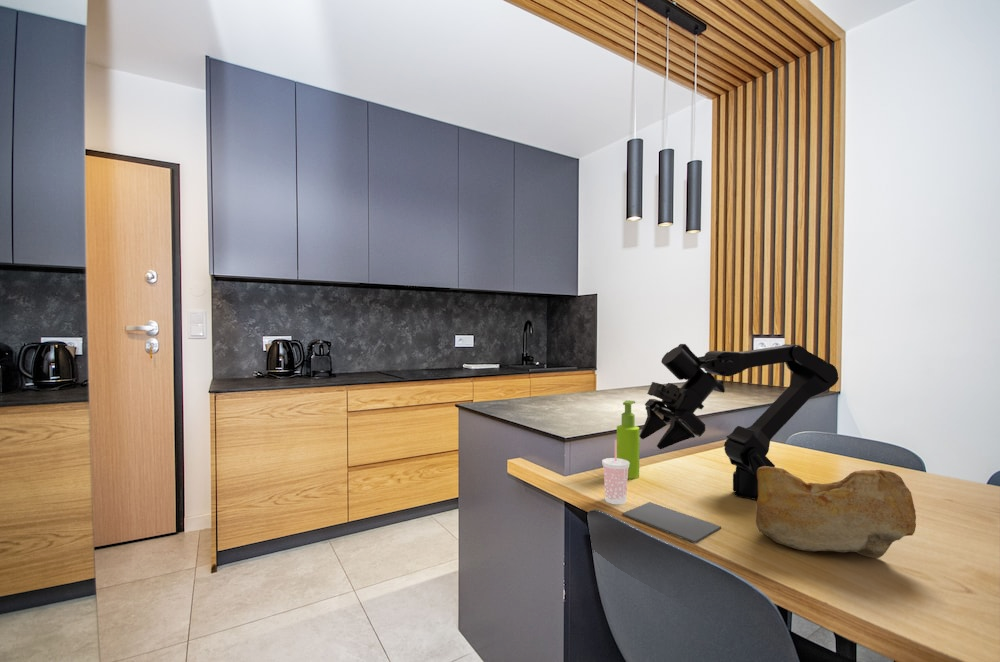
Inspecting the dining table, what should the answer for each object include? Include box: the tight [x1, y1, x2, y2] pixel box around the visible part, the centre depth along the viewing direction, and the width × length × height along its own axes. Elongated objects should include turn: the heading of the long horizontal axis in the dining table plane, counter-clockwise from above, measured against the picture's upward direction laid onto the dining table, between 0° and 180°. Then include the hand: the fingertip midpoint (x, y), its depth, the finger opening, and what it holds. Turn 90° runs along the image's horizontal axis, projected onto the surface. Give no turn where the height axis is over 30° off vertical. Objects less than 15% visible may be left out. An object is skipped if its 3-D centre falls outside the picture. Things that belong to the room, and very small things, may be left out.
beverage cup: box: [601, 439, 630, 505], centre depth 102 cm, size 6×6×14 cm
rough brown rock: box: [755, 466, 917, 559], centre depth 83 cm, size 23×17×15 cm
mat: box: [622, 501, 722, 544], centre depth 91 cm, size 16×10×1 cm, turn 38°
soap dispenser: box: [616, 400, 640, 480], centre depth 120 cm, size 6×7×20 cm
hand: (649, 442), depth 103 cm, fingers open, 9 cm apart
